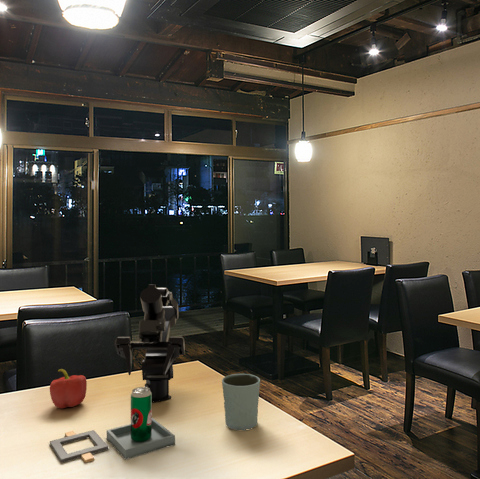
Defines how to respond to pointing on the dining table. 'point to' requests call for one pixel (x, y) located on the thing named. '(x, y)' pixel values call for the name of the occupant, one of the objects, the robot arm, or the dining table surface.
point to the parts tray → (131, 449)
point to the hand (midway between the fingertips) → (146, 374)
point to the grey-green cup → (241, 400)
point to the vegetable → (68, 390)
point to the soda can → (141, 414)
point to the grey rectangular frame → (84, 454)
